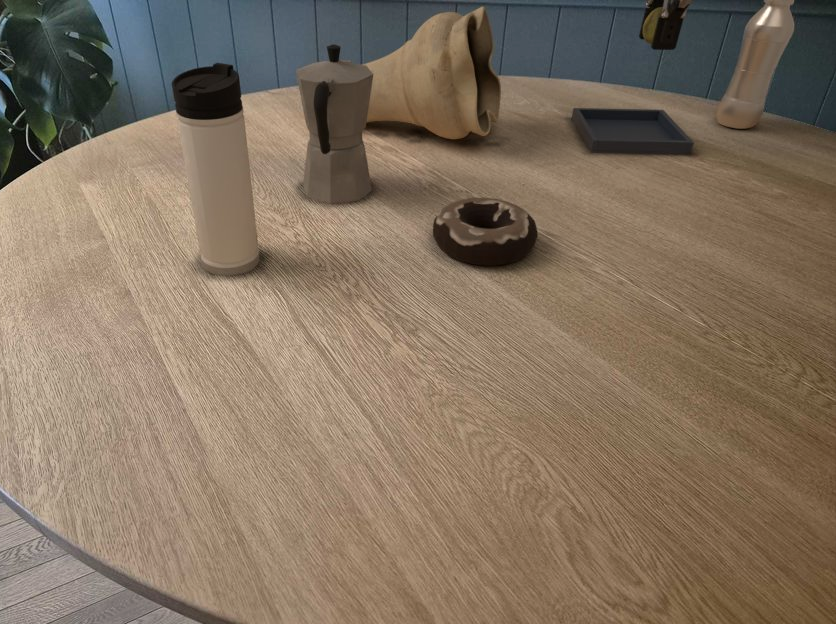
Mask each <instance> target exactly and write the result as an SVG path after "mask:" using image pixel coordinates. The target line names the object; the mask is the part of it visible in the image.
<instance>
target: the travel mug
mask: <svg viewBox="0 0 836 624" xmlns="http://www.w3.org/2000/svg"><path fill="white" fill-rule="evenodd" d="M240 81H241V80H240V75H239V73H238V71H237V70H235V69H234V65H233V64H229V63H222V62H215V63H213V64H212V66H211V65H209V66H208V65H207V66H200V67H196V68H192V69H188V70H186V71H184V72H181V73H180V74H177V76H175V77H174V78H173V79H172V81H171V88H172V96H173V101H174V102H175V103H174V104H175V105H174V107H175V116H176V118H177V120H176V122H177V127H178V132H179V138H180V144H181V150H182V156H183V162H184V167H185V169H184V170H185V173H186V181H187V187H188V191H189V196H190V203H191V209H192V214H193V220H194V227H195V231H196V232H195V233H196V237H197V242H198V243H197V244H198V249H199V255H200V260H201V266H202V268H203V269H204V270H205V271H206V272H207V273H209V274H211V275H214V276H221V277H229V276H230V277H231V276H237V275H238V276H239V275H242V274H245V273H247V272H250V271H252V270H253V269H255V268H256V267H257V266H258V265H259V263H260V259H261V258H260V250H259V249H260V248H259V241H258V240H259V239H258V231H257V221H256V212H255V204H254V196H253V195H254V194H253V185H252V177H251V175H252V174H251V166H250V157H249V147H248V142H247V141H248V140H247V131H246V120H245V114H244V106H243V101H242V100H243V99H242V90H241V82H240Z"/></svg>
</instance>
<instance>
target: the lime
mask: <svg viewBox="0 0 836 624" xmlns="http://www.w3.org/2000/svg"><path fill="white" fill-rule="evenodd" d="M662 10H663V7H659V8H656V9H655V10H653V11H652V12H651V13H650V14H649V16H648V17H647V18H646V20H645V22H644V25H643V37H644V39H643V40H644V41H645V42H646V43H647V44H648V45H650V46H651V45H652V41H653V37H654V33H655V28H656V24H657V20H658V17H662Z"/></svg>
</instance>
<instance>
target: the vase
mask: <svg viewBox="0 0 836 624" xmlns="http://www.w3.org/2000/svg"><path fill="white" fill-rule="evenodd" d="M494 51H495V40H494V36H493V31H492V26H491V22H490V19H489V15H488V11H487V9H486V7H485V6H479V7H478V8H477V9H474V10H473V11H471V12H468V13H466V14H465V15H462V14H460V13H458V12H456V11H455V12H454V11H446V12H440V13H437V14H435V15H433V16H431V17H429V18H428V19H427V20H425V22H424V23H423V24H422V25H421V26H419V28H418V29H417V30H416V32H415V33H414V34H413V36H412V38H411V39H408V40H407V41H406V42H405V43H404V44H403V45H402V46H401V47H400V48H398V49H396V50H395V51H393V52H391V53H389V54H387V55H385V56H383V57H381V58H378V59H375V60H372V61H369V62H367V63H366V62H365V63H363V64H362V65H365V66H367V67H368V68H369V69H370V71H371V72H372V73H373V74H374V75H373V81H372V88H371V95H370V102H369V108H368V115H367V122H366V123H372V122H401V123H409V124H412V125H416V126H418V127H423V128H425V129H426V130H427V131H429V132H430V133H432V134H434V135H436V136H438V137H440V138H444V139H449V140H460V139H463V138H465V137H467V136H468V135H469V134H470V132H472V133H474V134H476V135H478V136H482V137H485V136H487V135H488V134H490V132H491V127H492V123H497V122H498V121H499V116H500V108H501V97H502V84H501V79H500V77H499V75H498V74H497V72H496V71H495V70H494V69H493V67H492V59H493V56H494Z"/></svg>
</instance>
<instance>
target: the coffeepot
mask: <svg viewBox="0 0 836 624" xmlns="http://www.w3.org/2000/svg"><path fill="white" fill-rule="evenodd" d="M326 51H327V56H328V60H325V61H318V62H312V63H309V64H307V65H304V66H302V67H299V68H297V69H295V75H296V81H297V85H298V89H299V95H300V100H301V105H302V111H303V116H304V122H305V125H306V127H307V130H308V132H309V136H308V137H309V140H308V142H307V146H306V147H307V148H306V156H305V163H304V164H305V165H304V172H303V181H302V187H303V190H304V193H305V195H306V197H307V198H308V199H311V200H314V201H318V202H320V203H321V202H322V203H326V204H330V205H335V204H336V205H337V204H347V203H352V202H359V201H360V200H362V199H363V198H365V197H366V196H367V195H369V193H371V192H372V191H373V189H372V188H373V187H372V183H371V175H370V170H369V164H368V158H367V152H366V147H365V146H366V145H365V143H364V140H363V131H364V130H365V129H366V128H367V123H368V122H367V115H368V108H369V102H370V95H371V88H372V81H373V75H374V74H373V73H372V72H371V71H370V69H369V68H368V67H367V66H365V65H363V64H358V63H354V62H353V61H352V60H350V59H347V60H344V59H343V60H341V59H340V54H341V46H340V45H338V44H334V43H333V44H330V45H327V46H326Z"/></svg>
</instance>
